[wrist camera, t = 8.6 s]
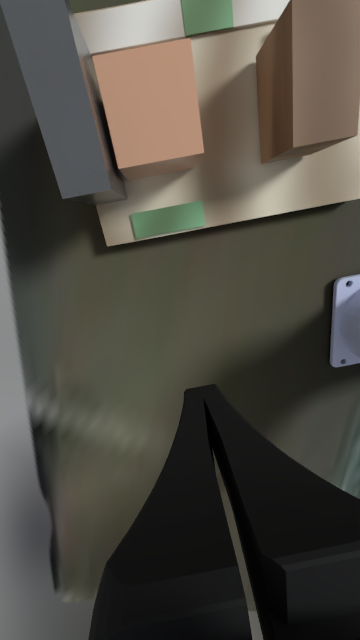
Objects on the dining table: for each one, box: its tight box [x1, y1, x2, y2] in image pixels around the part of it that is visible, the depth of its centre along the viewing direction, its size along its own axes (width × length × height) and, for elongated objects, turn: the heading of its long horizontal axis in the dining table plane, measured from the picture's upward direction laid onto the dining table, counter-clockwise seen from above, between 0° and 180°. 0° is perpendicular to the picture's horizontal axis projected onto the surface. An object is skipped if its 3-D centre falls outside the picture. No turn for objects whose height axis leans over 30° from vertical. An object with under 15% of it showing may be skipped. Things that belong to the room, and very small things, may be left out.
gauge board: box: [74, 0, 360, 247], centre depth 15 cm, size 17×11×1 cm, turn 100°
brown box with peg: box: [256, 0, 360, 164], centre depth 13 cm, size 3×6×4 cm, turn 10°
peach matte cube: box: [92, 38, 204, 180], centre depth 13 cm, size 4×4×4 cm
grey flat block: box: [0, 0, 128, 205], centre depth 12 cm, size 2×6×7 cm, turn 10°
